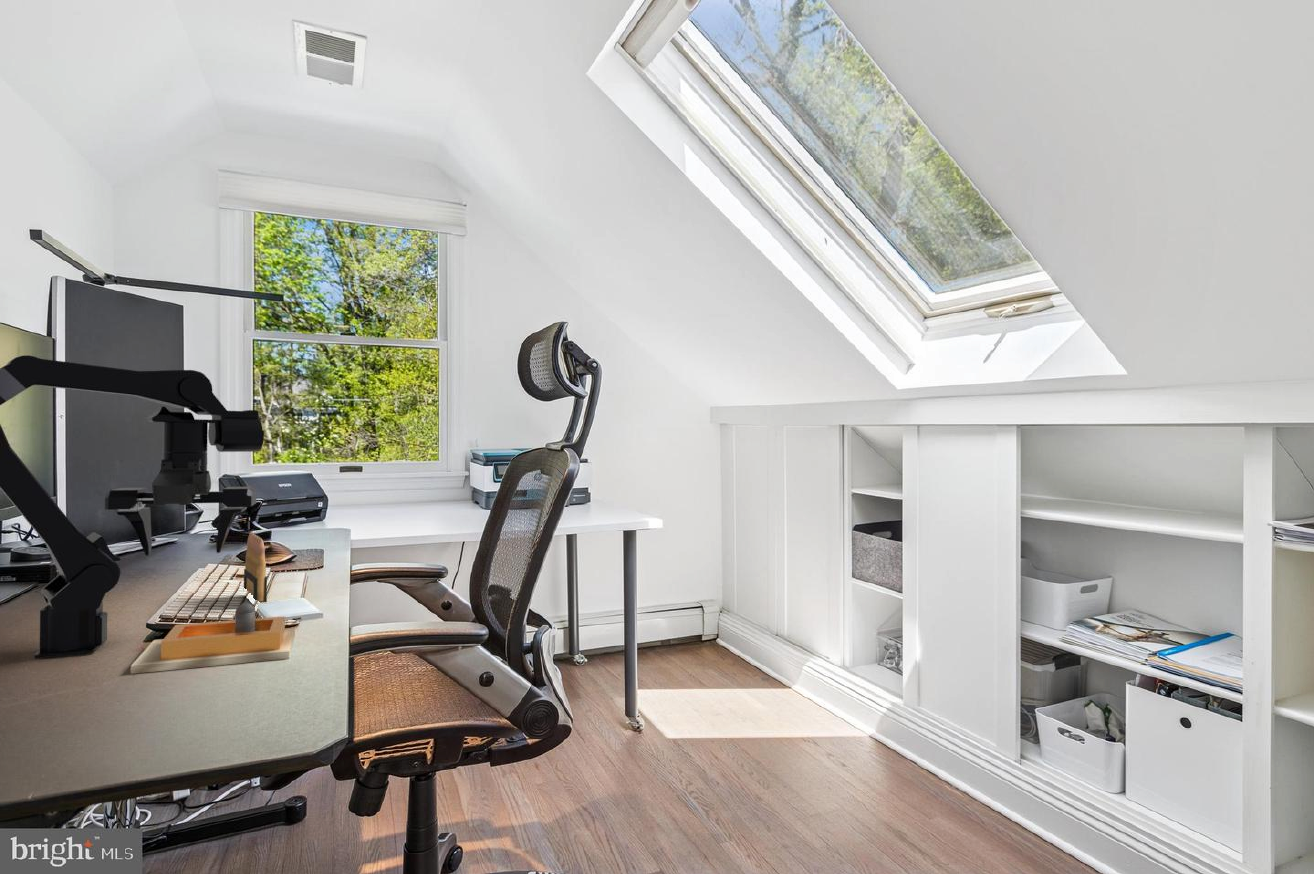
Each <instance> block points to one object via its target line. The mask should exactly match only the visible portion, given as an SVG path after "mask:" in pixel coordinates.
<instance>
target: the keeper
mask: <svg viewBox="0 0 1314 874" xmlns="http://www.w3.org/2000/svg"><path fill="white" fill-rule="evenodd" d="M255 619H256V612H255V608H254V606H253V605H252V604H251V603H250V602H243V603H242V604H239V605H238V606H237V608H236V610H235V618H234V620H235V633H243V632H255ZM295 635H296V629H295V628H285V633H284V636H283V640H282V643H281V647H280V649H278V650H267V651H256V652H245V653H234V654H224V655H213V656H202V657H191V658H180V659H170V660H161V642H162V640H163V639H164V638H163V639H162V638H161V639H154V640H152V642H151V643H150V644H148V646H147V647H146V648H145V649H144V651H142V653H141V654H140V655H139V656H138V657H137V658H136V660H134V662H133V663H132V664H131V665H130V674H134V675H135V674H143V673H152V672H153V673H155V672H163V671H172V670H173V671H175V670H184V669H185V670H186V669H193V668H194V669H195V668H204V667H206V668H207V667H216V666H224V665H227V666H228V665H235V664H236V665H237V664H245V663H247V664H248V663H255V662H266V661H275V660H276V661H279V660H286V659H290V656H291V653H292V648H293V644H294V639H295V637H296V636H295Z"/></svg>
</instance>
